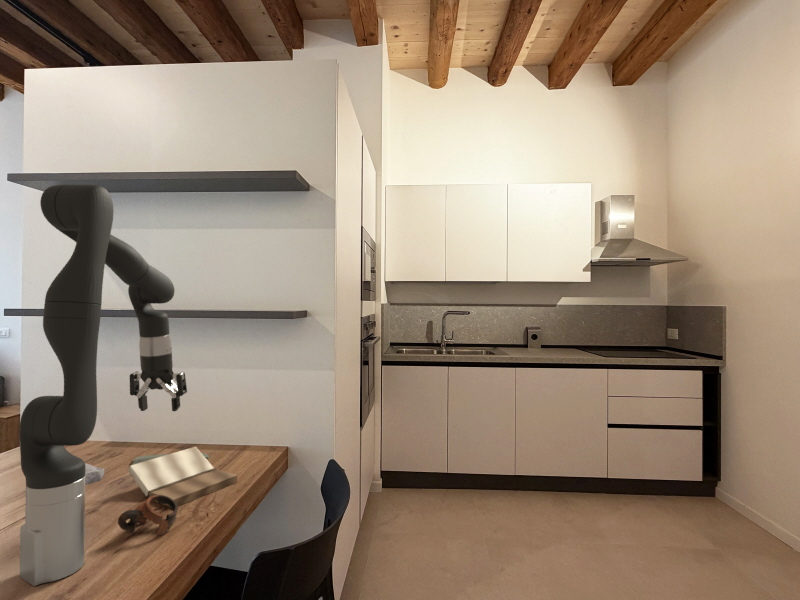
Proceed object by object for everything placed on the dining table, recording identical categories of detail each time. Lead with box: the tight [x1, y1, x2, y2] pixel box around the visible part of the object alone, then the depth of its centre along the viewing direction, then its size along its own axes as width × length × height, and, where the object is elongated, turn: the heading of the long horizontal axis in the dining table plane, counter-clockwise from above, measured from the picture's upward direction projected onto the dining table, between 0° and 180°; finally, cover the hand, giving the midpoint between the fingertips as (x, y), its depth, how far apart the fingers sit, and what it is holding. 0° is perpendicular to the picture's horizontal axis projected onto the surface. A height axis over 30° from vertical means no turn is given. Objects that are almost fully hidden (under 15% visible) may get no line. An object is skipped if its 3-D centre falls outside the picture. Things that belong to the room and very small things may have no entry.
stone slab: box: [131, 452, 210, 465], centre depth 153 cm, size 22×3×10 cm
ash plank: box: [128, 446, 215, 497], centre depth 133 cm, size 20×10×2 cm, turn 149°
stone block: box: [85, 462, 105, 486], centre depth 135 cm, size 12×5×10 cm
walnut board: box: [148, 467, 238, 508], centre depth 127 cm, size 20×10×2 cm, turn 149°
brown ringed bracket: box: [117, 495, 179, 536], centre depth 104 cm, size 12×10×8 cm
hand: (159, 410), depth 125 cm, fingers open, 8 cm apart
